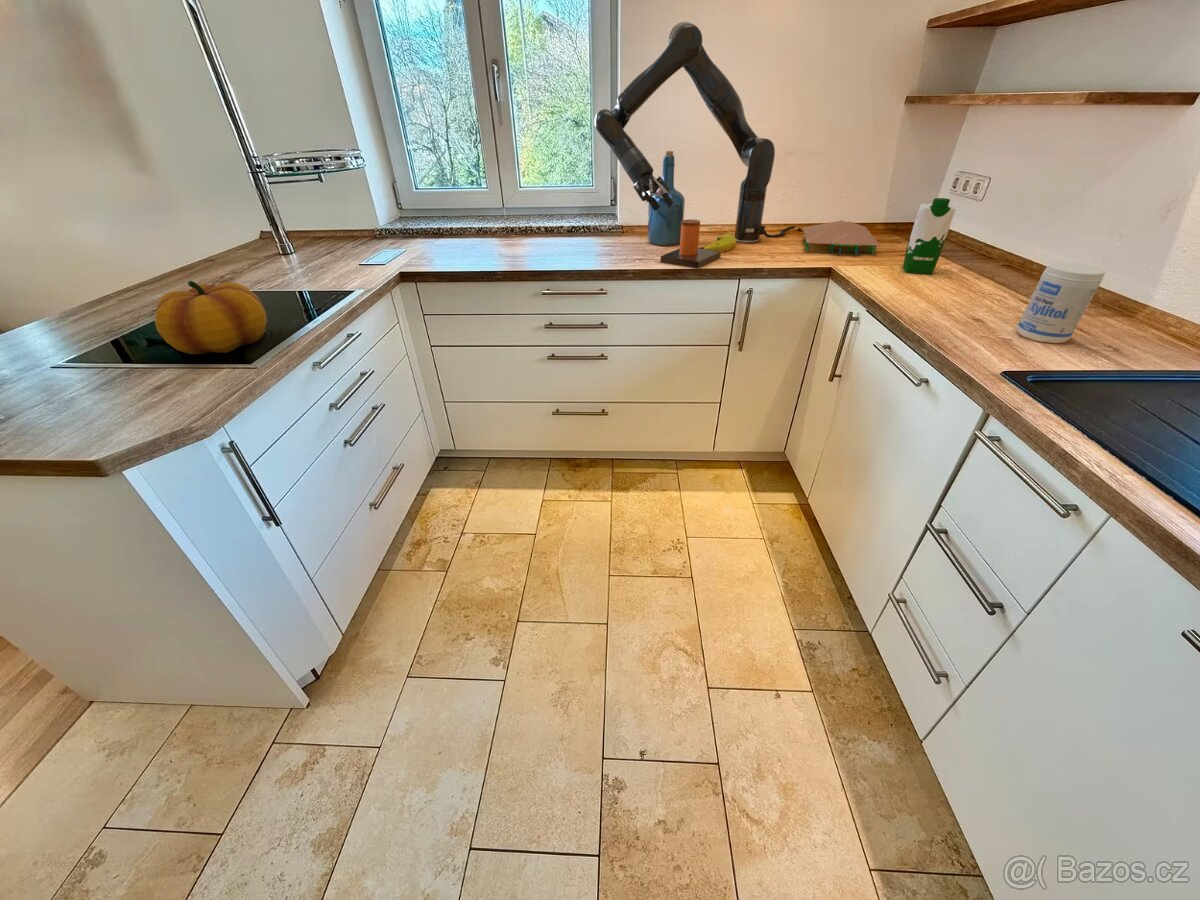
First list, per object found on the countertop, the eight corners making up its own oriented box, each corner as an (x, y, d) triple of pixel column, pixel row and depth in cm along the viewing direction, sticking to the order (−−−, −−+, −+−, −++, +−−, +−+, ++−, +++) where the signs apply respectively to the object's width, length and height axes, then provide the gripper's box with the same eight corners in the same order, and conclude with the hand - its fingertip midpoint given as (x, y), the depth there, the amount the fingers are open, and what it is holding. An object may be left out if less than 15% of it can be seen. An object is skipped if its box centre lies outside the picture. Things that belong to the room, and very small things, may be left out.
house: (805, 254, 173) (810, 229, 169) (800, 234, 199) (804, 211, 195) (878, 257, 168) (885, 231, 163) (863, 236, 194) (869, 213, 190)
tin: (685, 250, 174) (687, 218, 168) (700, 252, 171) (703, 220, 165) (676, 254, 170) (678, 221, 164) (692, 256, 167) (694, 223, 161)
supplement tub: (1012, 337, 111) (1043, 268, 102) (1017, 324, 117) (1048, 258, 108) (1068, 348, 105) (1106, 276, 97) (1071, 334, 111) (1107, 265, 103)
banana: (733, 230, 189) (692, 236, 191) (739, 236, 174) (695, 244, 177) (734, 242, 191) (693, 249, 194) (740, 250, 176) (696, 257, 179)
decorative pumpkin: (254, 360, 110) (223, 290, 101) (147, 366, 109) (107, 296, 100) (293, 326, 126) (269, 264, 118) (201, 331, 125) (171, 269, 117)
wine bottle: (684, 246, 188) (691, 152, 171) (648, 246, 188) (651, 153, 171) (680, 237, 199) (685, 149, 182) (646, 238, 199) (648, 150, 182)
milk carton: (903, 273, 152) (925, 200, 141) (899, 265, 159) (920, 195, 148) (936, 275, 150) (961, 200, 139) (930, 267, 157) (954, 196, 146)
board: (684, 252, 180) (684, 246, 179) (720, 257, 173) (721, 251, 172) (660, 262, 169) (660, 256, 168) (697, 268, 162) (698, 261, 161)
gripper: (630, 159, 160) (660, 202, 161) (655, 155, 169) (683, 195, 170) (617, 177, 166) (645, 218, 166) (641, 172, 175) (668, 211, 176)
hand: (664, 207), depth 168 cm, fingers open, 8 cm apart
